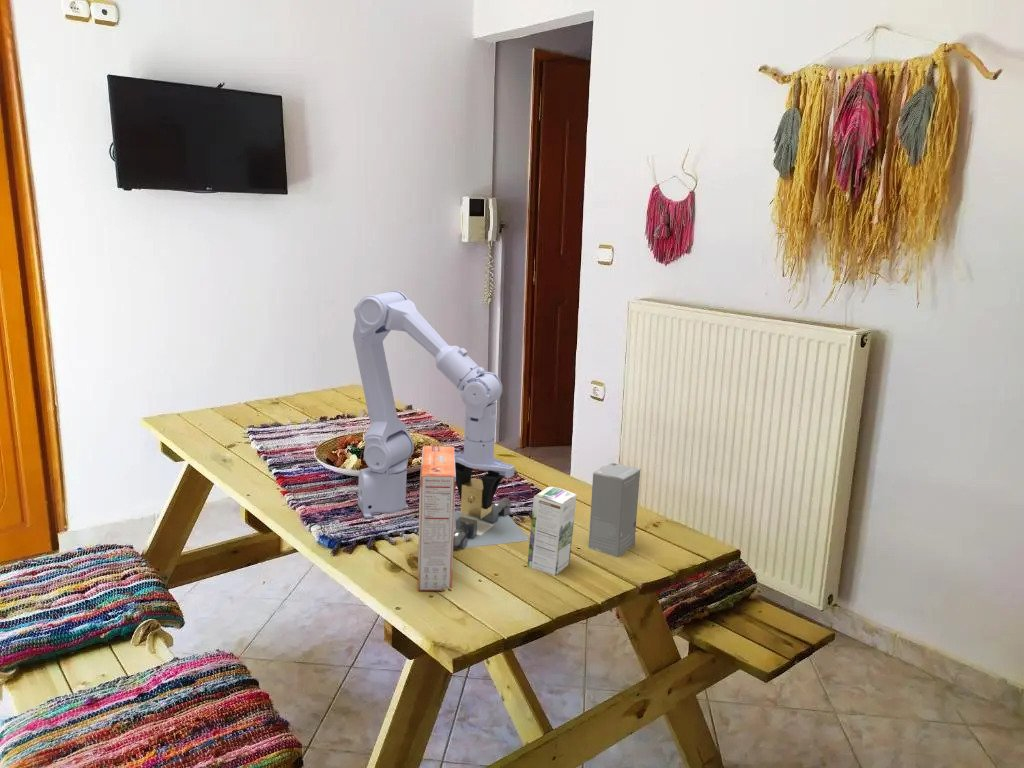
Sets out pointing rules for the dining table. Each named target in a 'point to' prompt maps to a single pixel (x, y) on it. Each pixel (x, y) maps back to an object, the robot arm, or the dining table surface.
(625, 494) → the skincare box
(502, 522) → the board
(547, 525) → the syrup box
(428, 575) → the cracker box
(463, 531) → the shaft
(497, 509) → the shaft
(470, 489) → the tan block
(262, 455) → the dining table surface
